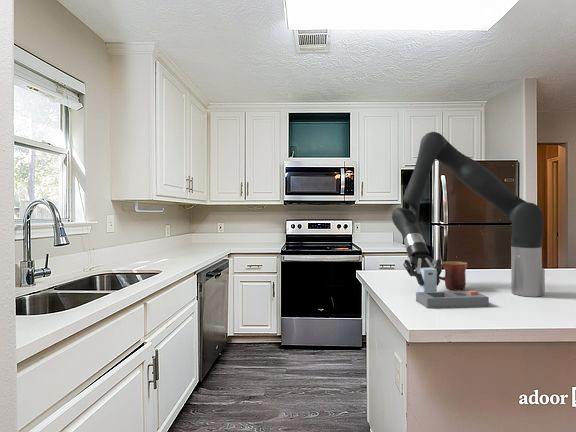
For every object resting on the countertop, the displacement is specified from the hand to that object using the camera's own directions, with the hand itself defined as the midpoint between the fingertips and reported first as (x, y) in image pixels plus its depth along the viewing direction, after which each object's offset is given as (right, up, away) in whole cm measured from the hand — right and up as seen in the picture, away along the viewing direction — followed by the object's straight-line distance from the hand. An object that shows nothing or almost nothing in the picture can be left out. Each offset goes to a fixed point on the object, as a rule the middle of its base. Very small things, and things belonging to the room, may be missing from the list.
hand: (429, 284), depth 128 cm
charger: (0, -5, +2) cm, 5 cm away
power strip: (+3, -5, -9) cm, 11 cm away
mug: (+13, -5, +13) cm, 20 cm away
